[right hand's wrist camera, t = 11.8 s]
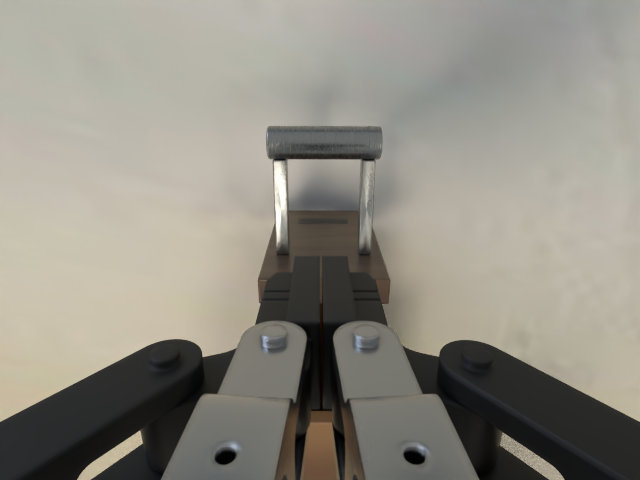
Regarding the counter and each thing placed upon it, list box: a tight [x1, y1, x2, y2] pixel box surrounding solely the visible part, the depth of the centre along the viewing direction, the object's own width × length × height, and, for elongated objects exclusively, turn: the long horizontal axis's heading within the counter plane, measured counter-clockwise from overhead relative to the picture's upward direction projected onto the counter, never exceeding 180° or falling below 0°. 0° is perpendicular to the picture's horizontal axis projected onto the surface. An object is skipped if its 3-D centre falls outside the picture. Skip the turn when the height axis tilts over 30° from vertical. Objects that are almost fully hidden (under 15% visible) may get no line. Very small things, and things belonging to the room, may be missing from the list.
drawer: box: [258, 126, 390, 411], centre depth 24 cm, size 23×6×10 cm, turn 0°
